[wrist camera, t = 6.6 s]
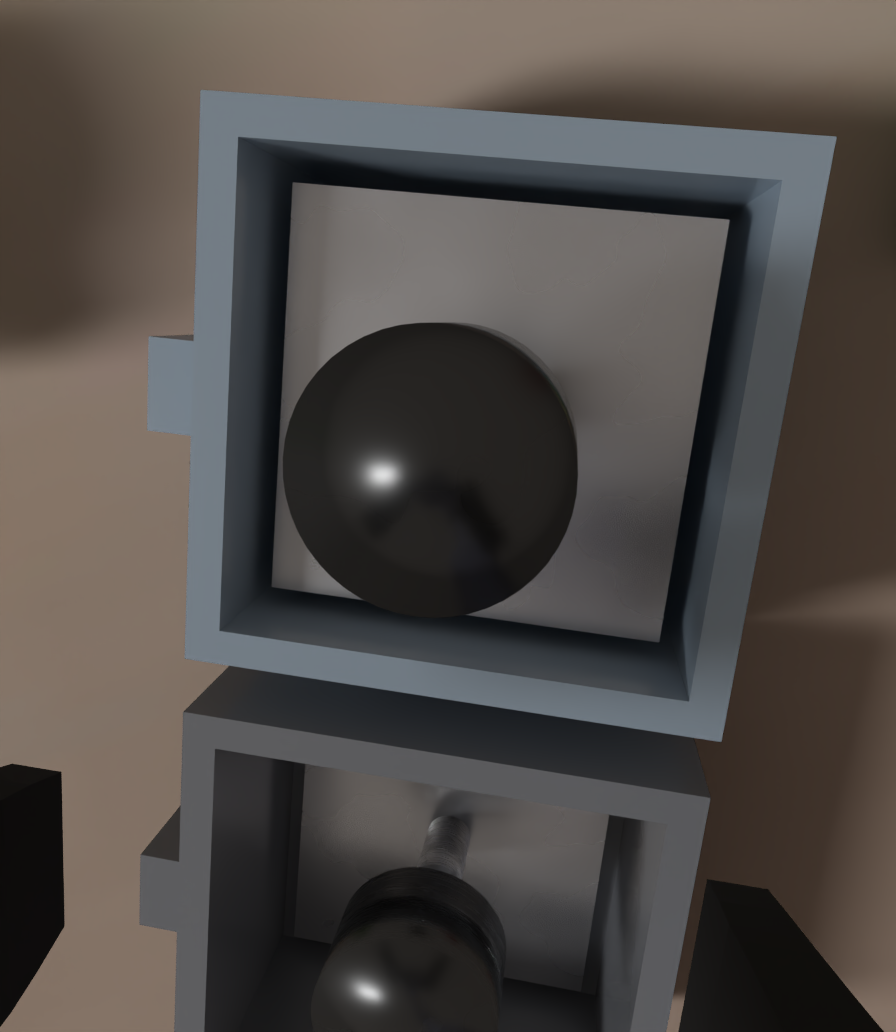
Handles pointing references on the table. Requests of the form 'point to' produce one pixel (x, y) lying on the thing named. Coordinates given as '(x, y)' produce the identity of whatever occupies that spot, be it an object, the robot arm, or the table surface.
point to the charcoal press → (423, 759)
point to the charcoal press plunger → (438, 900)
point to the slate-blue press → (511, 177)
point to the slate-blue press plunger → (490, 404)
